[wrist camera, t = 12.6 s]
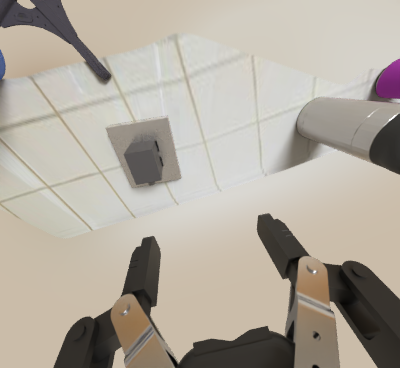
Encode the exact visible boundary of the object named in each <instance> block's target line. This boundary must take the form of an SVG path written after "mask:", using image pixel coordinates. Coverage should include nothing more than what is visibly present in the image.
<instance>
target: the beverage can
mask: <svg viewBox="0 0 400 368" xmlns="http://www.w3.org/2000/svg"><path fill="white" fill-rule="evenodd" d="M376 93H377V95H378V96H379V97H383V98H395V99H400V59H398V60H396V61H394V62H393V63H392V64H390V65H389V66H388V67H387V68H386V69H385V70H384V71H383V72H382V73H381V75H380V76H379V78H378V80H377V83H376Z"/></svg>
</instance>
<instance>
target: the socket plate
mask: <svg viewBox="0 0 400 368" xmlns="http://www.w3.org/2000/svg"><path fill="white" fill-rule="evenodd" d="M106 130H107V133H108V135H109V137H110V139H111V142H112V144H113V146H114V148H115V151H116V153H117V155H118V158H119V160H120V162H121V164H122V167H123V169H124V171H125V173H126V176H127V178H128V180H129V182H130V185H131V187H132V188H134V187H139V186H144V185H148V183H145V184H140V185H136V183H135V181H134V179H133V176H132V174H131V171H130V169H129V167H128V164H127V162H126V159H125V157H124V155H123V154H124V153H125V151H126V150H127V148H128V147H129V145H130V144H131V143H137V142H143V141H148V140H154V139H155V141H157V144H158V147H157V148H158V152H159V155H160V157H161V158H162V166H163V171H162V180H161V181H156V183H160V182H165V181H170V180H175V179H181V172H180V168H179V163H178V159H177V154H176V150H175V145H174V141H173V136H172V132H171V127H170V123H169V118H168V115H167V116H161V117H155V118H149V119H143V120H137V121H131V122H125V123H119V124H113V125H110V126H108V127H107V128H106Z"/></svg>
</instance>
